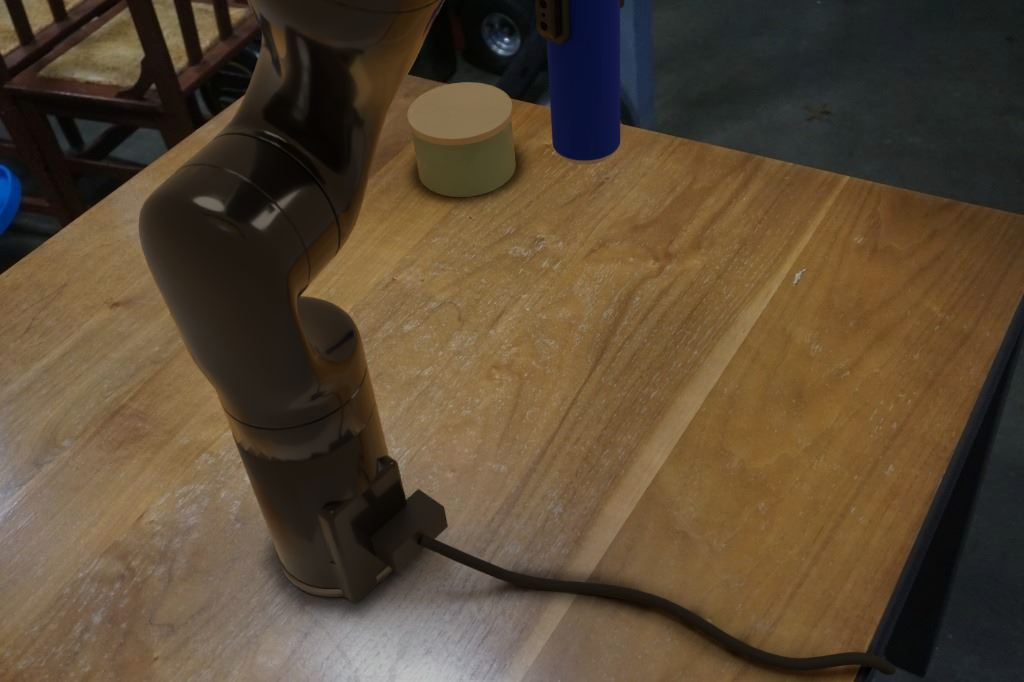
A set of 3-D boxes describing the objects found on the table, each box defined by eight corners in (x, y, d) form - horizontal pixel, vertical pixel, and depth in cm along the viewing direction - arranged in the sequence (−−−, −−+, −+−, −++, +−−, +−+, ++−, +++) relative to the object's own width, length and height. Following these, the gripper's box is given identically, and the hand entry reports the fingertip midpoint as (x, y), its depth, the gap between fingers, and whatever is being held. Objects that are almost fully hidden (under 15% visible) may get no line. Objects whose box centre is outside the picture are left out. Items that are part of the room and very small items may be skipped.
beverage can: (623, 131, 85) (623, -58, 75) (616, 169, 82) (615, -24, 71) (558, 128, 86) (549, -58, 76) (547, 166, 82) (537, -24, 72)
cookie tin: (538, 161, 113) (533, 101, 108) (470, 211, 108) (462, 150, 103) (464, 130, 118) (457, 71, 114) (396, 176, 113) (385, 117, 108)
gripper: (542, -195, 60) (555, 82, 71) (700, -264, 67) (688, -2, 78) (445, -218, 64) (473, 48, 75) (604, -281, 71) (606, -29, 82)
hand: (583, 21), depth 77 cm, fingers closed on beverage can, 5 cm apart
